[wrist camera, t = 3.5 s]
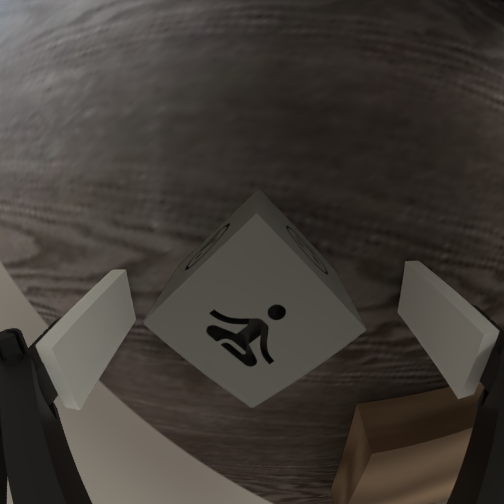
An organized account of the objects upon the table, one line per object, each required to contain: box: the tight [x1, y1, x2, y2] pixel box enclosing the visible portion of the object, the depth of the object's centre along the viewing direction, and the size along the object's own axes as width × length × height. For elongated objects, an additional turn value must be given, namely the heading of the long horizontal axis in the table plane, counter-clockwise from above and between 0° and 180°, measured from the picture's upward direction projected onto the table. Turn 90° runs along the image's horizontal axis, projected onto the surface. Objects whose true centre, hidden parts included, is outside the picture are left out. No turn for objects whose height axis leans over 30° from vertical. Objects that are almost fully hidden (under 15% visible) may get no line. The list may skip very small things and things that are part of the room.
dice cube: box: [143, 189, 367, 408], centre depth 12 cm, size 5×5×5 cm
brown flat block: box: [331, 382, 484, 504], centre depth 16 cm, size 12×14×4 cm
